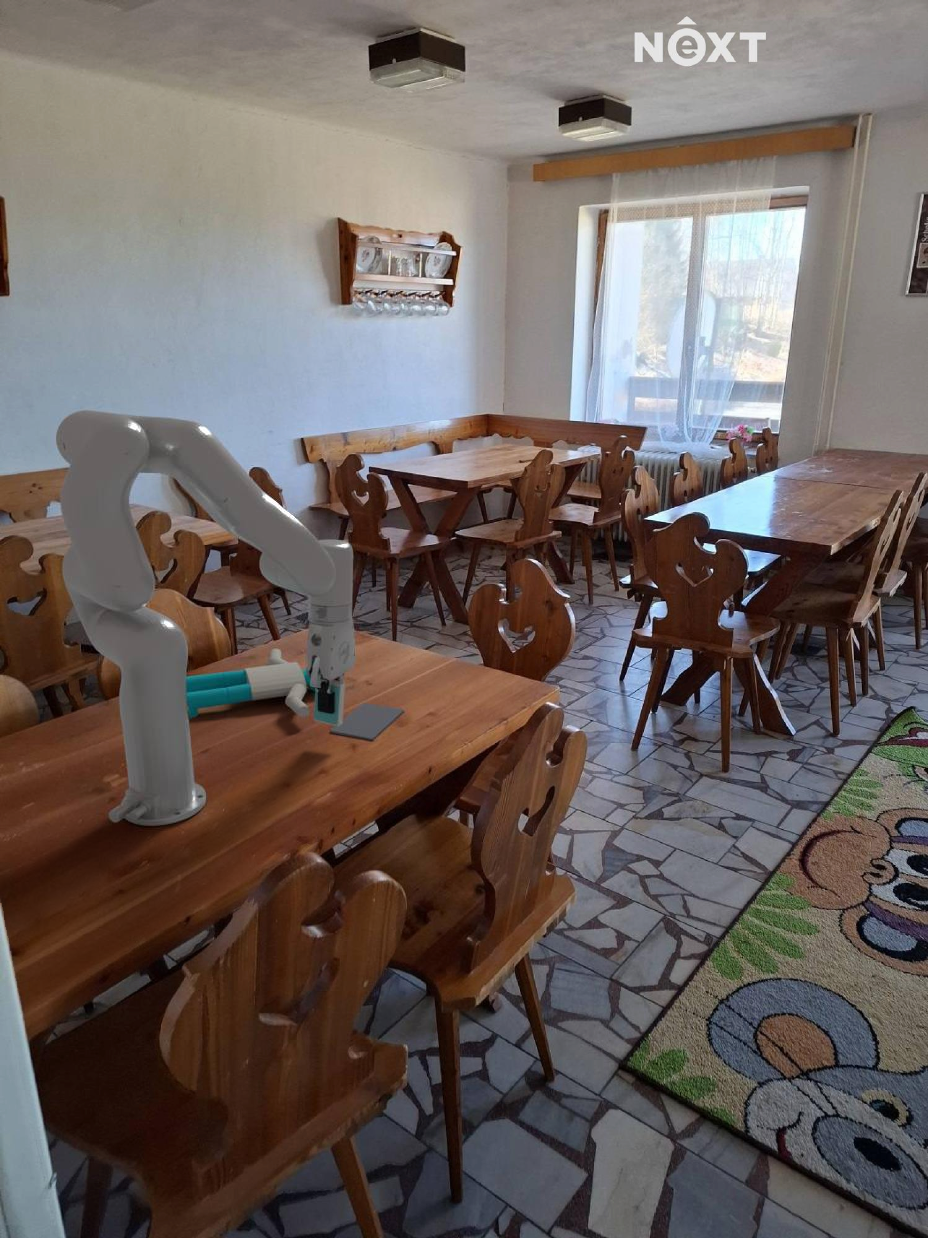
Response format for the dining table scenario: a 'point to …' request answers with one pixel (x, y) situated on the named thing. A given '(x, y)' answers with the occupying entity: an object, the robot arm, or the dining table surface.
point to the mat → (367, 721)
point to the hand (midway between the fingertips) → (329, 709)
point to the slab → (337, 716)
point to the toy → (251, 686)
